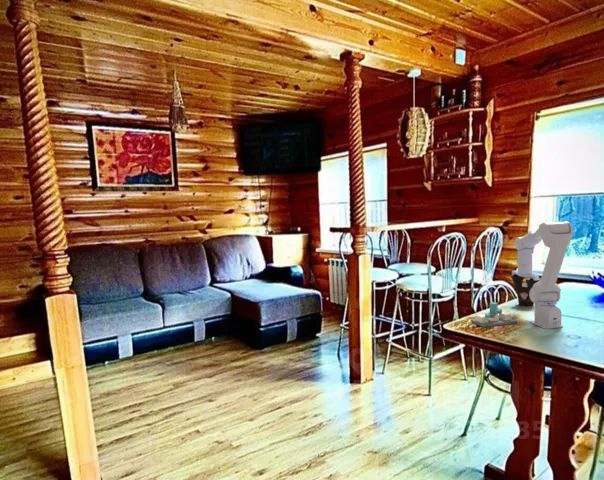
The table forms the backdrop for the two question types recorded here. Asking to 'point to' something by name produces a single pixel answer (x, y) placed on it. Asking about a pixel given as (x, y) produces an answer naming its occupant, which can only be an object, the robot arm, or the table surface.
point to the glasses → (493, 310)
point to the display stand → (493, 320)
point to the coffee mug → (524, 297)
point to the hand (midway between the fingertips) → (524, 293)
